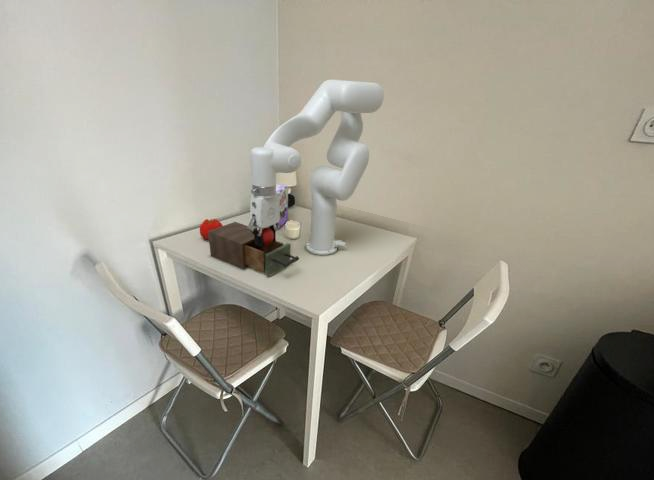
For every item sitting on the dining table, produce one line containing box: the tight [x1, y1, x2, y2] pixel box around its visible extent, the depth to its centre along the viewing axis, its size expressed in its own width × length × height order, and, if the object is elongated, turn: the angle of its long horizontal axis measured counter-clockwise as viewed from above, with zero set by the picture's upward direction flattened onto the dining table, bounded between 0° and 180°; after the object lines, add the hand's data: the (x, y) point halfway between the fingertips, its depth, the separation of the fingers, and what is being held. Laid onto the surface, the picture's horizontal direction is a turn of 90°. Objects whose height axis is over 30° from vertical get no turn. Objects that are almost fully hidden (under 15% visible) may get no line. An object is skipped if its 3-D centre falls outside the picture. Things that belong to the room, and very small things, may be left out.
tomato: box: [199, 218, 224, 241], centre depth 140 cm, size 9×9×8 cm
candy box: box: [268, 184, 289, 231], centre depth 155 cm, size 14×6×16 cm, turn 164°
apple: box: [261, 227, 274, 246], centre depth 117 cm, size 6×6×7 cm
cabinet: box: [208, 221, 259, 270], centre depth 127 cm, size 17×13×10 cm
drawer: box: [244, 240, 300, 277], centre depth 120 cm, size 21×12×8 cm, turn 56°
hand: (265, 242), depth 118 cm, fingers closed on apple, 5 cm apart
